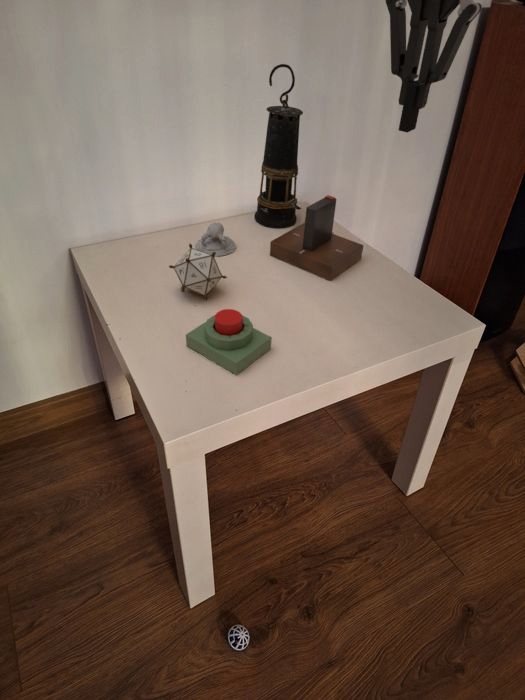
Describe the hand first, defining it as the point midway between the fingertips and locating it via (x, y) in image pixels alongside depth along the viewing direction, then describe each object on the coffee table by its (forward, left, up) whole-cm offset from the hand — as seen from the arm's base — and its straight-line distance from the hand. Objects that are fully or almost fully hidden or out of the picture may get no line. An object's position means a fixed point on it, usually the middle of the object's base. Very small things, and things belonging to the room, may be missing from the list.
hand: (406, 129), depth 81 cm
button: (+7, +33, -23) cm, 41 cm away
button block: (+7, +33, -26) cm, 43 cm away
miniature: (+30, +11, -27) cm, 42 cm away
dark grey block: (+13, +1, -23) cm, 27 cm away
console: (+13, +1, -26) cm, 29 cm away
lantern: (+29, -7, -27) cm, 40 cm away
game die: (+21, +25, -27) cm, 42 cm away
